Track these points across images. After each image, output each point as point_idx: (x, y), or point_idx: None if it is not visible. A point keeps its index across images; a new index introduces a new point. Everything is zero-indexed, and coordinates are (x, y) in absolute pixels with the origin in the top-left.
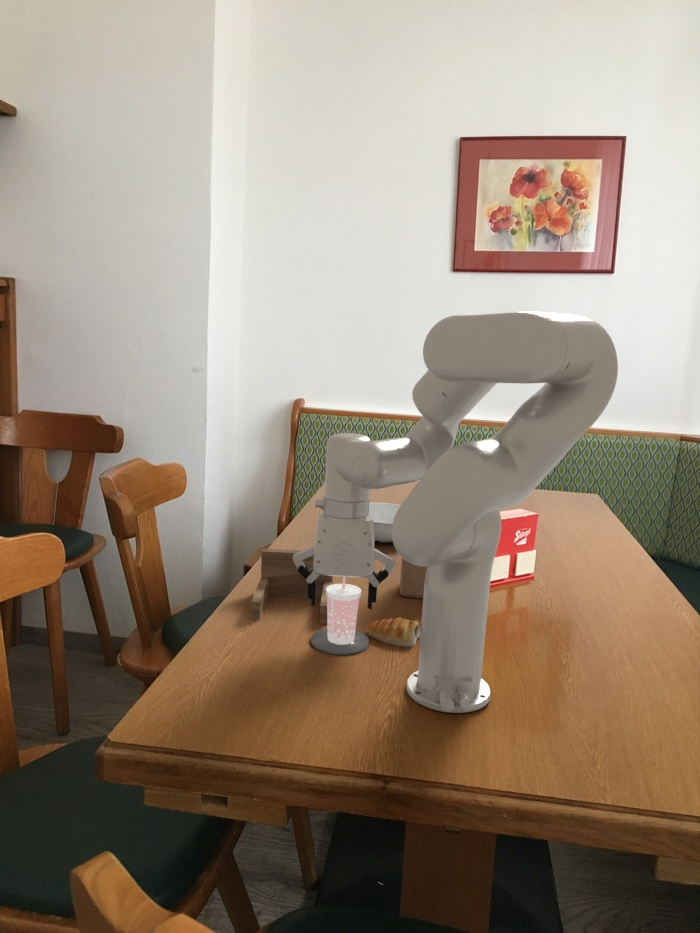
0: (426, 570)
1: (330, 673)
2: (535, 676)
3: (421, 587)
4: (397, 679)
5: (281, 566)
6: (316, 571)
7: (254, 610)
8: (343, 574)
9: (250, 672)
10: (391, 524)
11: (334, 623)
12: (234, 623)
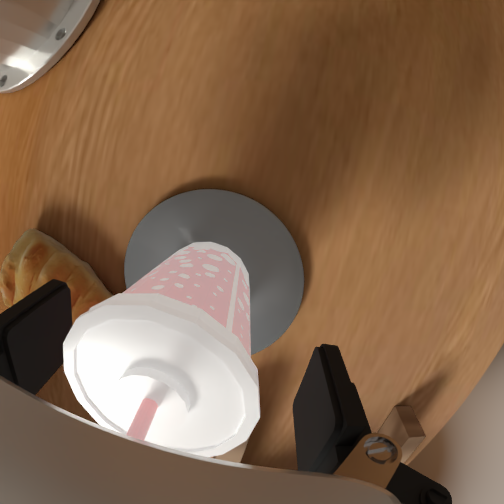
0: None
1: (275, 72)
2: None
3: None
4: (100, 47)
5: None
6: (389, 493)
7: (412, 421)
8: (90, 435)
9: (475, 126)
10: None
11: (227, 275)
12: (445, 387)
